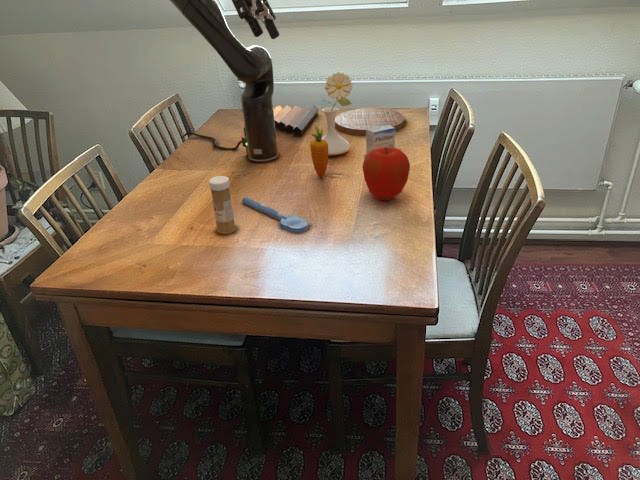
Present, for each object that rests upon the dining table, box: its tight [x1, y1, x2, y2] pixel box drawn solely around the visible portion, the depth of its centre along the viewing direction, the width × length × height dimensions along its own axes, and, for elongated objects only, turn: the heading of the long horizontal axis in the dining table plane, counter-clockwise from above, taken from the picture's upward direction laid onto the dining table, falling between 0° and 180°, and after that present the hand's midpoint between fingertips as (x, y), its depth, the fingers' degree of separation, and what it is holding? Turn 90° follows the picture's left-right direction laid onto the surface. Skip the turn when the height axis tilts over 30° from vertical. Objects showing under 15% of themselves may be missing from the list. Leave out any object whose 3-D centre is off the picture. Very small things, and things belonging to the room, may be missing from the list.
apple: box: [361, 147, 411, 201], centre depth 134 cm, size 12×12×14 cm
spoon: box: [241, 196, 309, 234], centre depth 132 cm, size 24×5×2 cm, turn 45°
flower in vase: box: [322, 71, 354, 156], centre depth 161 cm, size 13×11×25 cm
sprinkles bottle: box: [208, 175, 237, 235], centre depth 123 cm, size 5×5×13 cm
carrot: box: [309, 125, 329, 179], centre depth 147 cm, size 5×5×15 cm
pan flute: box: [273, 104, 319, 137], centre depth 194 cm, size 25×3×25 cm
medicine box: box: [365, 125, 396, 156], centre depth 161 cm, size 8×4×9 cm, turn 118°
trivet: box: [335, 107, 405, 136], centre depth 190 cm, size 25×25×2 cm
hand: (267, 36), depth 126 cm, fingers open, 8 cm apart
